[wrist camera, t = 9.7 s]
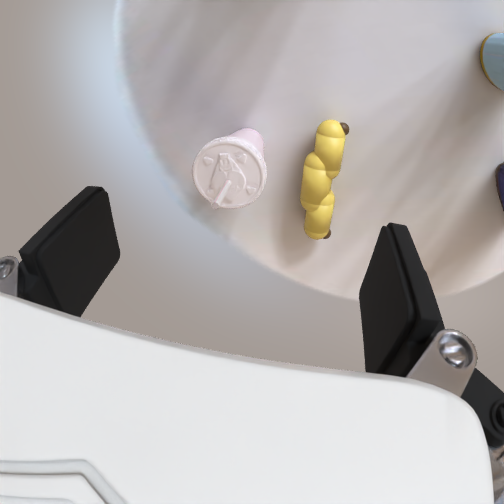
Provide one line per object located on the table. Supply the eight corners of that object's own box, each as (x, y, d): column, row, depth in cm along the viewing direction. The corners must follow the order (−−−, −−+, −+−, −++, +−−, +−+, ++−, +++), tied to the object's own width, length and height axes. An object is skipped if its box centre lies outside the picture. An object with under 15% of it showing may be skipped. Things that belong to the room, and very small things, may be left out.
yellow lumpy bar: (309, 114, 31) (309, 120, 28) (348, 119, 30) (352, 126, 28) (295, 227, 39) (294, 242, 37) (329, 232, 39) (330, 246, 36)
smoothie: (224, 172, 36) (183, 237, 25) (214, 119, 33) (163, 162, 21) (279, 168, 35) (263, 235, 24) (273, 113, 31) (252, 153, 20)
